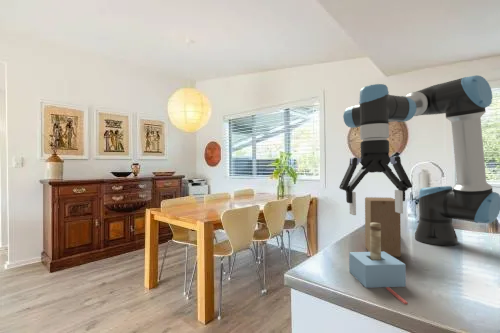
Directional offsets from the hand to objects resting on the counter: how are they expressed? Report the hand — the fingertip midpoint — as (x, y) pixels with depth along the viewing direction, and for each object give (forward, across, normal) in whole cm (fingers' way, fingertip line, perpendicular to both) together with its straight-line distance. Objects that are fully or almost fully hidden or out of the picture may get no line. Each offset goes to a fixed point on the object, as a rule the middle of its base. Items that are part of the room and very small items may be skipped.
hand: (376, 213), depth 79 cm
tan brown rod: (+19, +1, 0) cm, 19 cm away
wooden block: (+19, -13, -23) cm, 33 cm away
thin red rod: (+19, +1, +11) cm, 22 cm away
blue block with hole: (+19, +1, 0) cm, 19 cm away
